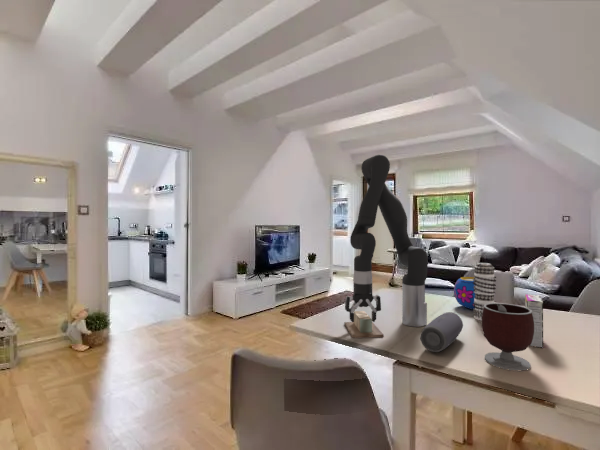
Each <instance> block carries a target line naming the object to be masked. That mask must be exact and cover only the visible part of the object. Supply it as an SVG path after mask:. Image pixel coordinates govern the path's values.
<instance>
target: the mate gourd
mask: <svg viewBox="0 0 600 450" xmlns="http://www.w3.org/2000/svg"><path fill="white" fill-rule="evenodd" d="M481 328H482V332H483V333H482V334H483V336H484V338H485V340H486V341H487V342H488V344H489V345H491V346H492V347H495V348H496V349H499V350H501V351H500V352H499V351H498V352H496V351H495V352H487V353H486V354H484V361H485V360H486V361H487V362H486V361H485V362H486V363H488V364H489V363H490V365H491V364H492V365H491V366H493V365H494V366H493V367H495V366H496V368H498V367H500V368H499V369H501V368H503V369H502V370H505V369H509V370H508V371H511V370H527V369H529V368H530V367H531V366H532V365H531V363H530V361H529V360H527V359H525V358H523V357H522V356H521V357H520V356H518V355H515V354H513V353H515V352H516V353H517V352H522V351H525V350H527V349H528V347H531V346H530V345H531V343H532V340H533V336H534V320H533V315H532V310H530V309H528V308H526V307H525V306H522V305H517V304H512V303H505V302H504V303H501V302H494V303H488V304H485V305H484V309H483V313H482V320H481ZM531 368H532V367H531ZM531 368H530V369H531ZM530 369H529V370H530ZM527 371H528V370H527Z"/></svg>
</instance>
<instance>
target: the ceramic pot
mask: <svg viewBox="0 0 600 450" xmlns="http://www.w3.org/2000/svg"><path fill="white" fill-rule="evenodd" d="M474 278H475V277H474V276H461V277H460V278H458V279H457V280H456V282H455V284H454V287H453V297H454V298H455V300H456V302H457V303H458V305H460V306H462V307H463V308H466V309H470V310H474V309H475V308H474V305H475V304H474V302H475V301H474V298H475V293H474V291H473V290H474V288H473V287H474V286H475V285H474V284H473V282H474V281H473V279H474Z"/></svg>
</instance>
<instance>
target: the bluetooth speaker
mask: <svg viewBox="0 0 600 450" xmlns="http://www.w3.org/2000/svg"><path fill="white" fill-rule="evenodd" d="M463 327H464V324H463V320H462V318H461V317H460V316H459V314H457V313H455V312H451V311H449V312H443V313H442V314H440V315H437V317H435V318H434V319H433V320H431V321H430V322H429V323H427V325H425V326H424V328H423V329H422V330H421V332H420V336H419V337H420V338H419V339H420V342H421V344H422V346H423V347H424V348H425V349H426V350H428V351H429V352H433V353H439V352H441V351H444V350H445V349H447V348H448V347H450V345H451V344H453V342H455V341H456V339H457V337H458V336H459V335H460V333H462V330H463Z"/></svg>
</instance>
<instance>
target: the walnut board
mask: <svg viewBox="0 0 600 450" xmlns="http://www.w3.org/2000/svg"><path fill="white" fill-rule="evenodd" d="M343 325H344V326H345V328H346V329H347V332H348V333H349V334H350V336H351V337H352V338H351V339H355V338H356V339H357V338H358V339H359V338H361V339H362V338H365V339H366V338H384V333H383V332H382V331H381V330H380V329H379V328H378V327H377V325H376V324H375V323H374V322H373V321H372V332H366V333H361V332H360V331H359V330H358V328H357V327H356V325H355V324H354V322H352V321H345V322H344V324H343Z"/></svg>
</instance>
